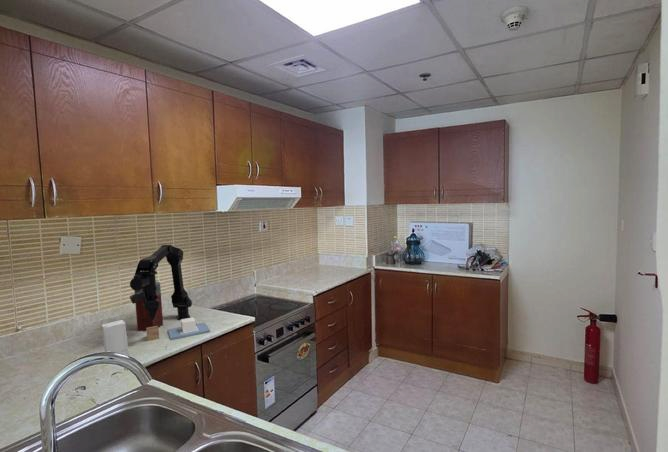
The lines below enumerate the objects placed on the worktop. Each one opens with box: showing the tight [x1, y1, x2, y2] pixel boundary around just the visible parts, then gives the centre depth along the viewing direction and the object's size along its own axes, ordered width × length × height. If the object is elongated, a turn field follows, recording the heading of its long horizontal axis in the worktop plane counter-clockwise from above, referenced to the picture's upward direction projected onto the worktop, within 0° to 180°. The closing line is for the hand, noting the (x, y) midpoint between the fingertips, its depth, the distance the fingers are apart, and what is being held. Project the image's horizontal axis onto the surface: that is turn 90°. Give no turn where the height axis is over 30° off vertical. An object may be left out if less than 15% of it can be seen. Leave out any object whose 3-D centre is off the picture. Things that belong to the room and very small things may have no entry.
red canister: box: [133, 281, 164, 332], centre depth 192 cm, size 9×11×28 cm
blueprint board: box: [167, 322, 211, 341], centre depth 185 cm, size 14×18×1 cm
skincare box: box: [101, 319, 129, 356], centre depth 157 cm, size 8×6×15 cm
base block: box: [180, 317, 197, 333], centre depth 185 cm, size 6×6×5 cm
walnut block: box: [145, 326, 160, 342], centre depth 178 cm, size 5×5×5 cm
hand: (151, 317), depth 177 cm, fingers open, 9 cm apart
